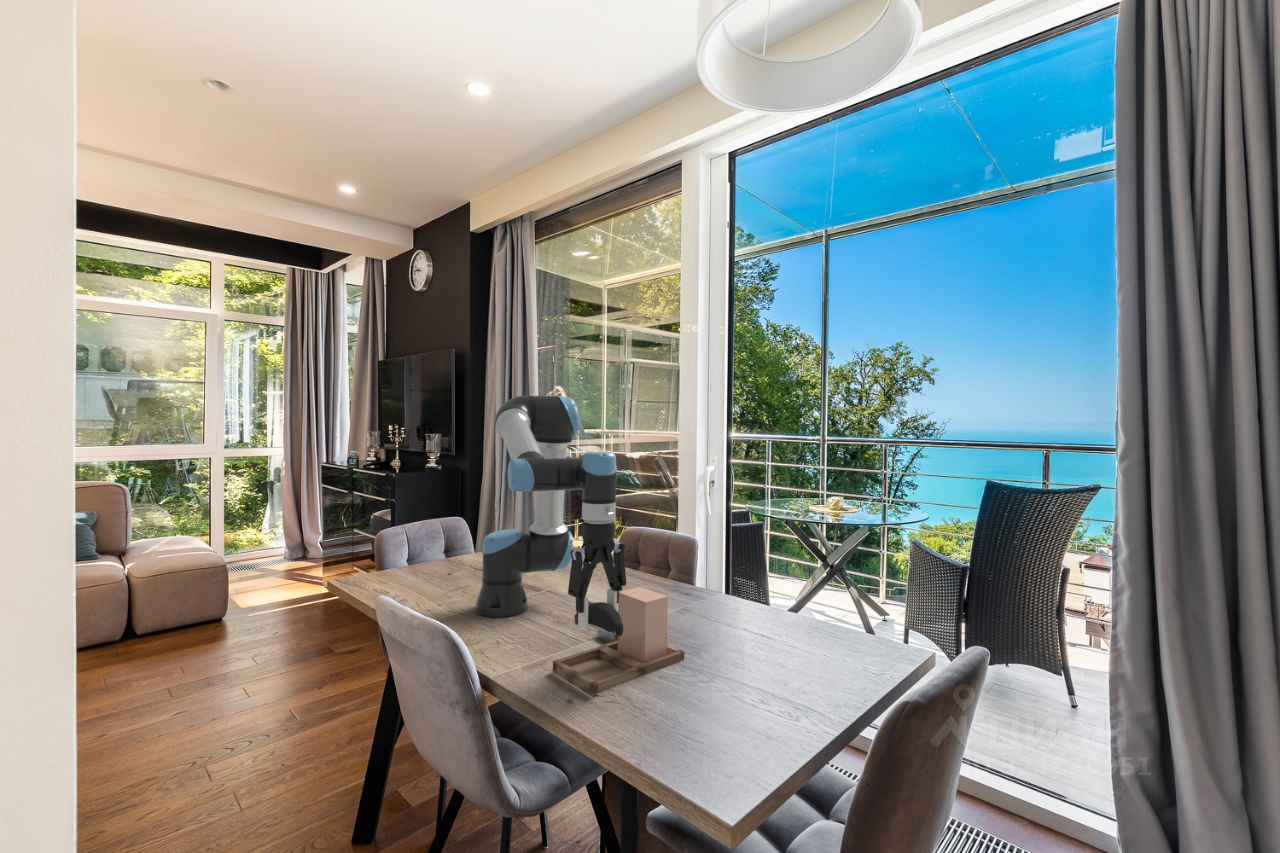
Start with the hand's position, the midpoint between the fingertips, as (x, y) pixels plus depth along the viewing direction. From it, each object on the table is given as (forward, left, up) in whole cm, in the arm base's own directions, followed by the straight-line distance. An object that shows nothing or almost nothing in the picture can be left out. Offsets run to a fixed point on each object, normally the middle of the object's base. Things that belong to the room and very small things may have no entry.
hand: (597, 622), depth 130 cm
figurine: (+1, 0, -2) cm, 2 cm away
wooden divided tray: (0, +7, -12) cm, 14 cm away
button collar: (-13, +16, -12) cm, 24 cm away
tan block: (0, +14, -11) cm, 18 cm away
